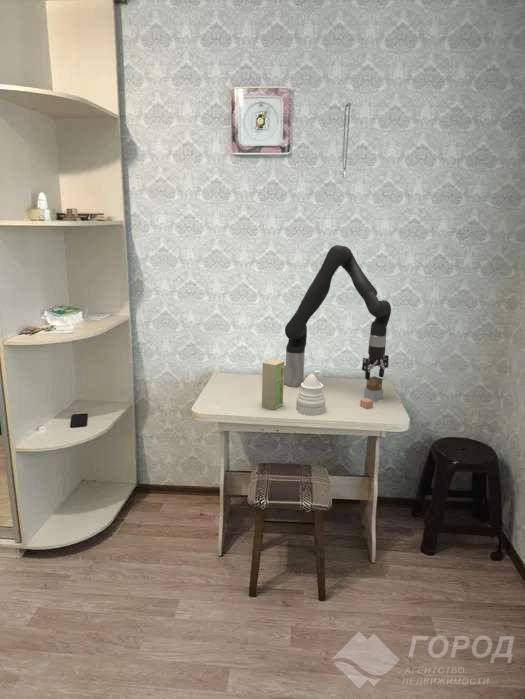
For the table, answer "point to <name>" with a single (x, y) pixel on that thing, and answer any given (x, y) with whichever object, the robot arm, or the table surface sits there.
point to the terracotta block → (366, 403)
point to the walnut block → (374, 384)
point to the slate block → (373, 394)
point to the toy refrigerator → (272, 384)
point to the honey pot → (311, 396)
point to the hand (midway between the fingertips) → (374, 378)
